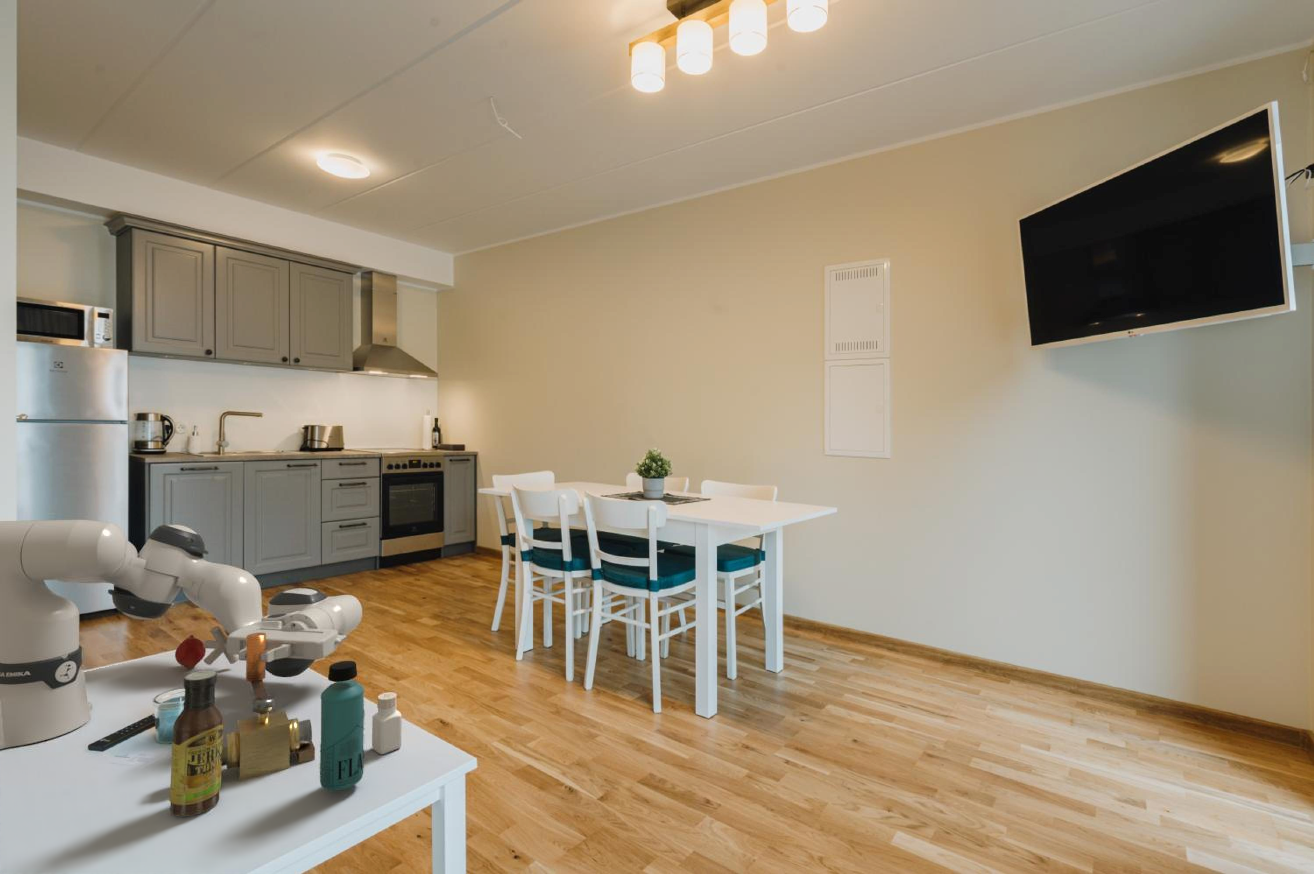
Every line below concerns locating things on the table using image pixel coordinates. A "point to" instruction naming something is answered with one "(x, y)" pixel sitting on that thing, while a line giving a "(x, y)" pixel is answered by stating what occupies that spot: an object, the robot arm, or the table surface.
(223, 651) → the pipe connector
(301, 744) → the ball valve
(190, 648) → the onion
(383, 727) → the pepper shaker
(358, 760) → the beverage bottle
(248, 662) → the crank handle
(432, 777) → the table surface
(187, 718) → the sauce bottle
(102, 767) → the table surface
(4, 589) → the robot arm
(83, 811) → the table surface
